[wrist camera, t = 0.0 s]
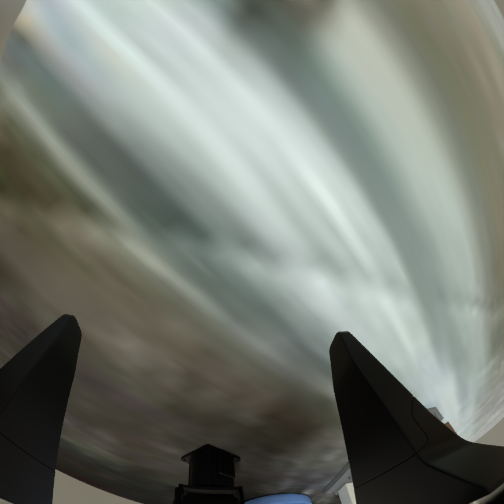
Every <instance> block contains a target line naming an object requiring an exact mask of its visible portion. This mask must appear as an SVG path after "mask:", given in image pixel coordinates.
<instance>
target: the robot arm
mask: <svg viewBox="0 0 504 504" xmlns="http://www.w3.org/2000/svg"><path fill="white" fill-rule="evenodd" d="M81 336H82V335H81V330H80V327H79V325H78V322H77V320H76V318H75V316H73V315H68V314H64V315H62V316H61V317H60V318H58V319H57V320H56V321H55V322H54V323H52V324H51V325H50V326H49V327H48V328H46V329H45V330H44V331H43V332H42V333H40V334H39V335H38V336H37V337H36V338H34V339H33V340H32V341H31V342H30V343H29V344H27V345H26V346H25V347H24V348H23V349H22V350H21V351H19V352H18V353H17V354H16V355H15V356H14V357H13V358H12V359H10V360H9V361H8V362H7V363H6V364H5V365H4V366H3V367H2V368H1V369H0V504H52V498H53V487H54V477H55V468H56V460H57V454H58V447H59V441H60V436H61V431H62V425H63V421H64V416H65V411H66V407H67V402H68V398H69V394H70V390H71V386H72V382H73V379H74V374H75V369H76V364H77V358H78V352H79V347H80V342H81ZM329 353H330V361H331V370H332V379H333V387H334V393H335V398H336V402H337V407H338V411H339V416H340V421H341V425H342V430H343V435H344V440H345V445H346V450H347V455H348V460H349V465H350V470H351V476H352V481H353V487H354V494H355V499H356V504H504V447H502V446H494V445H486V444H479V443H473V442H469V441H467V440H464V439H463V438H461V437H460V436H458V435H457V434H456V433H455V432H453V431H452V430H451V429H450V428H449V427H447V426H446V425H445V424H444V423H442V422H441V421H440V420H439V419H438V418H436V417H435V416H434V415H433V414H432V413H431V412H430V411H428V410H427V409H426V408H425V407H424V406H423V405H422V404H421V403H420V402H419V401H418V400H417V399H416V398H415V397H413V395H412V394H411V393H410V392H409V391H408V390H407V389H406V388H405V387H404V386H403V385H402V384H401V383H400V382H399V381H398V380H397V379H396V378H395V377H394V376H393V375H392V374H391V373H390V372H389V371H388V370H387V369H386V368H385V367H384V366H383V365H382V364H381V363H380V362H379V361H378V360H377V359H376V358H375V357H374V356H373V355H372V354H371V353H370V352H369V351H368V350H367V349H366V348H365V347H364V346H363V345H362V344H361V343H360V342H359V341H358V340H357V339H356V338H355V337H354V336H353V335H352V334H351V333H350V332H348V331H343V332H337V333H336V335H335V337H334V339H333V341H332V344H331V346H330V350H329ZM181 460H182V461H184V462H186V463H188V464H189V482H188V485H183V484H179V487H177V488H175V497H174V501H173V504H245V503H244V496H243V489H242V486H238V487H234V479H235V470H234V464H235V463H237V462H239V461H240V458H239V457H237V456H235V455H232V454H230V453H227V452H225V451H222V450H220V449H218V448H215V447H213V446H211V445H204V446H202V447H200V448H199V449H197V450H195V451H193V452H191V453H189V454H187V455H185V456H183V457H181Z"/></svg>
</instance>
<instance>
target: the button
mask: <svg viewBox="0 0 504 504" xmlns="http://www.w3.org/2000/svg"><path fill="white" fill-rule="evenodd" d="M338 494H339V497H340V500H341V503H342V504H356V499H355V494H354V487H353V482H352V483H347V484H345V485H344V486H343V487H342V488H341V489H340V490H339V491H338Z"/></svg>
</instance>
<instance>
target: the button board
mask: <svg viewBox="0 0 504 504" xmlns="http://www.w3.org/2000/svg"><path fill="white" fill-rule="evenodd" d="M427 410H428V411H430V412H431V413H432V414H433V415H434V416H435V417H436V418H438V419H439V420H440V421H441V420H442V419H443V417H442V415H441V414H440V412H439V411H438V409H437V408H436V407H434V408H430V409H427ZM352 482H353V481H352V476H351V470H350V465H349V462H348V463H347V464H346V466H345V467H344V468H343V469H342V470H341V471H340V472H339V474H338V475H337V476H336V477H335V478H334V479H333V480H332V481H331V482H330V484H329V485H328V486H327V487H326V488H325V489H324V492H325V494H328V493H334V495H339V494H338V491H339V490H340V489H341V488H342V487H343V486H344V485H345V484H347V483H352Z"/></svg>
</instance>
